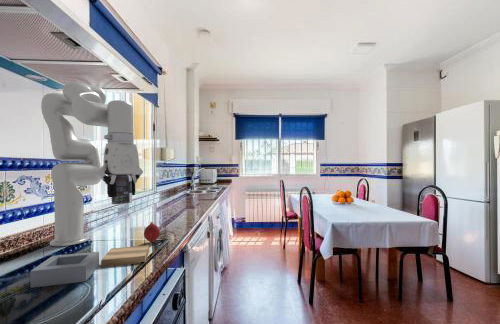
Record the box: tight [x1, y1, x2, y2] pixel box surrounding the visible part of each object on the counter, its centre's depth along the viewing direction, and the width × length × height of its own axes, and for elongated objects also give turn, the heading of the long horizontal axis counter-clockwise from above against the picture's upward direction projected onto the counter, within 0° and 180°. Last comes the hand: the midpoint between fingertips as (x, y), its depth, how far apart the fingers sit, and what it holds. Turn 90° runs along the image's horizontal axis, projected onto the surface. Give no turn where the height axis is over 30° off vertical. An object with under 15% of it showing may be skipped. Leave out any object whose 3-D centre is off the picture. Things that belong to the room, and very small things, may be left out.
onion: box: [143, 221, 161, 244], centre depth 104 cm, size 6×6×8 cm
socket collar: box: [29, 251, 100, 288], centre depth 73 cm, size 12×12×4 cm
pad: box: [100, 244, 150, 268], centre depth 86 cm, size 12×12×2 cm
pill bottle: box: [111, 175, 133, 205], centre depth 86 cm, size 6×6×11 cm
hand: (121, 195), depth 86 cm, fingers closed on pill bottle, 6 cm apart
